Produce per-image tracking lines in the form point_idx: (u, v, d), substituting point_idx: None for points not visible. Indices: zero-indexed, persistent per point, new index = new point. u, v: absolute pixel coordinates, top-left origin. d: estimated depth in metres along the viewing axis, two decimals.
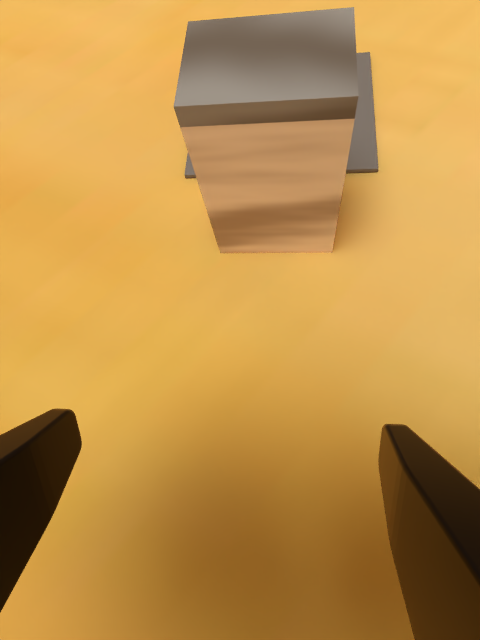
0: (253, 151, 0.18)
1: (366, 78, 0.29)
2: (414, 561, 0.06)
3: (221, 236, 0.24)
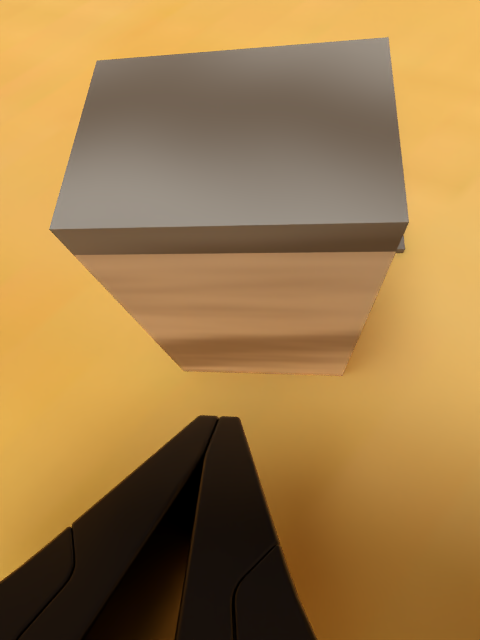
0: (212, 284, 0.10)
1: None
2: None
3: (181, 358, 0.17)
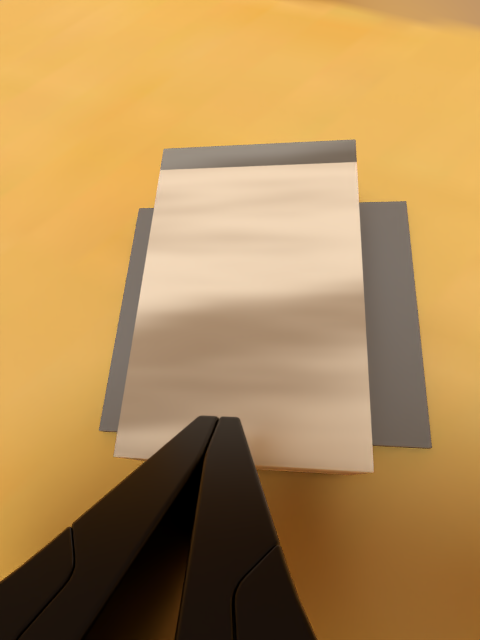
0: (236, 201, 0.14)
1: (403, 252, 0.18)
2: None
3: (136, 390, 0.12)
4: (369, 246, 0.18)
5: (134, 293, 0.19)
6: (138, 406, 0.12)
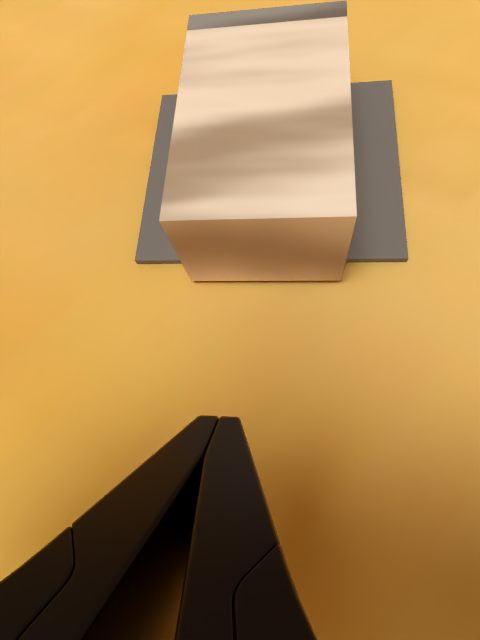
0: (250, 48, 0.17)
1: (388, 119, 0.21)
2: None
3: (174, 178, 0.15)
4: (359, 115, 0.22)
5: (160, 159, 0.22)
6: (176, 188, 0.15)
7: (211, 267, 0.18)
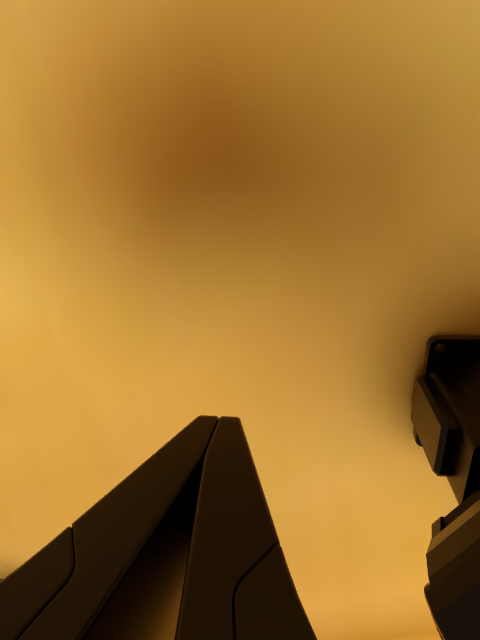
0: None
1: None
2: None
3: None
4: None
5: None
6: None
7: None
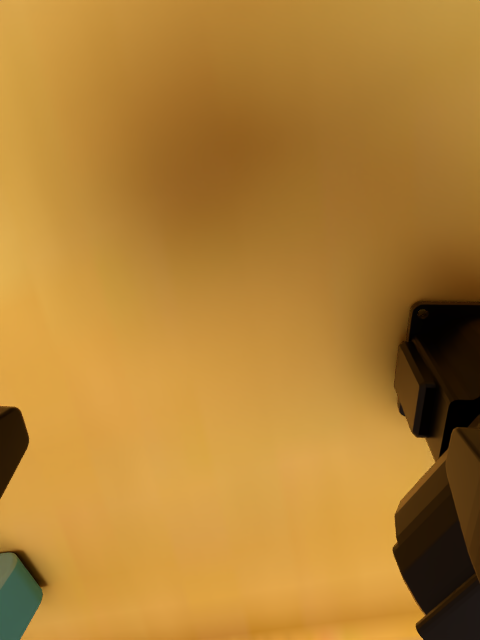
0: None
1: None
2: None
3: None
4: None
5: None
6: None
7: None
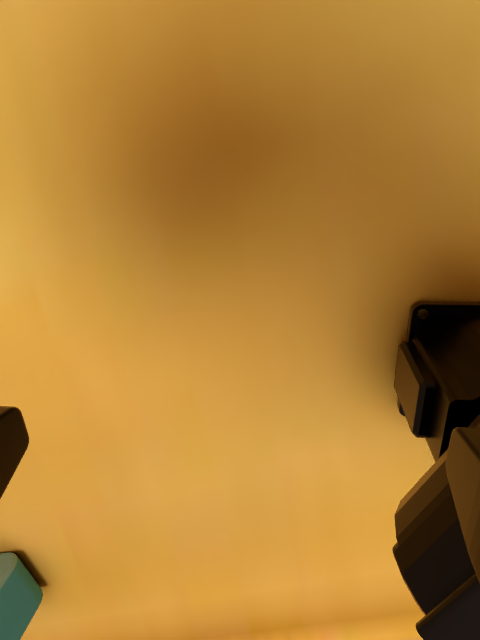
0: None
1: None
2: None
3: None
4: None
5: None
6: None
7: None
